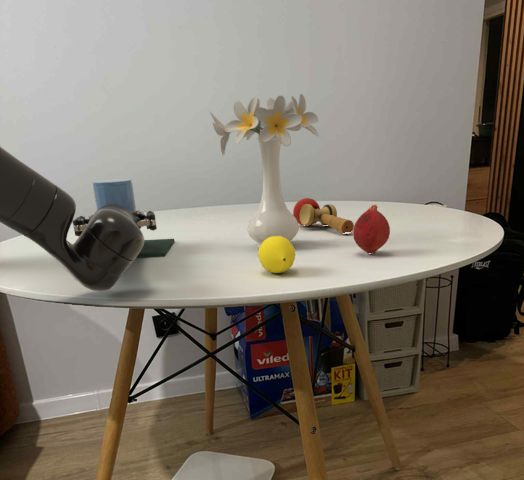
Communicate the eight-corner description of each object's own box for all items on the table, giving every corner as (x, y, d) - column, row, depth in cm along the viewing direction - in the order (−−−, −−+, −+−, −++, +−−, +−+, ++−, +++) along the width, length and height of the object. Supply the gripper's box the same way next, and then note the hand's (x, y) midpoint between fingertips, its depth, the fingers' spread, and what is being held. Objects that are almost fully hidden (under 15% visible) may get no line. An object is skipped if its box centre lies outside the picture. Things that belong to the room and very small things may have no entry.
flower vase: (215, 245, 96) (203, 99, 86) (307, 237, 99) (305, 96, 90) (227, 259, 84) (215, 92, 74) (331, 249, 88) (332, 89, 78)
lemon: (254, 269, 77) (252, 233, 75) (288, 265, 78) (287, 230, 76) (265, 280, 70) (264, 242, 68) (302, 276, 72) (301, 238, 70)
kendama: (364, 238, 102) (315, 216, 116) (364, 208, 98) (313, 189, 112) (333, 250, 100) (286, 226, 113) (332, 219, 96) (283, 199, 110)
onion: (369, 260, 79) (371, 207, 76) (345, 254, 84) (346, 204, 81) (395, 254, 82) (399, 204, 79) (371, 249, 86) (373, 201, 83)
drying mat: (62, 261, 88) (62, 258, 88) (85, 246, 101) (85, 243, 101) (164, 256, 89) (164, 252, 88) (174, 241, 101) (174, 238, 101)
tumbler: (90, 181, 92) (101, 246, 97) (94, 183, 86) (106, 252, 91) (128, 178, 95) (137, 242, 99) (134, 180, 89) (143, 248, 93)
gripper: (70, 258, 80) (82, 240, 95) (161, 250, 82) (159, 234, 97) (61, 210, 77) (75, 199, 92) (155, 203, 79) (154, 194, 94)
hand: (118, 217), depth 95 cm, fingers closed on tumbler, 7 cm apart
